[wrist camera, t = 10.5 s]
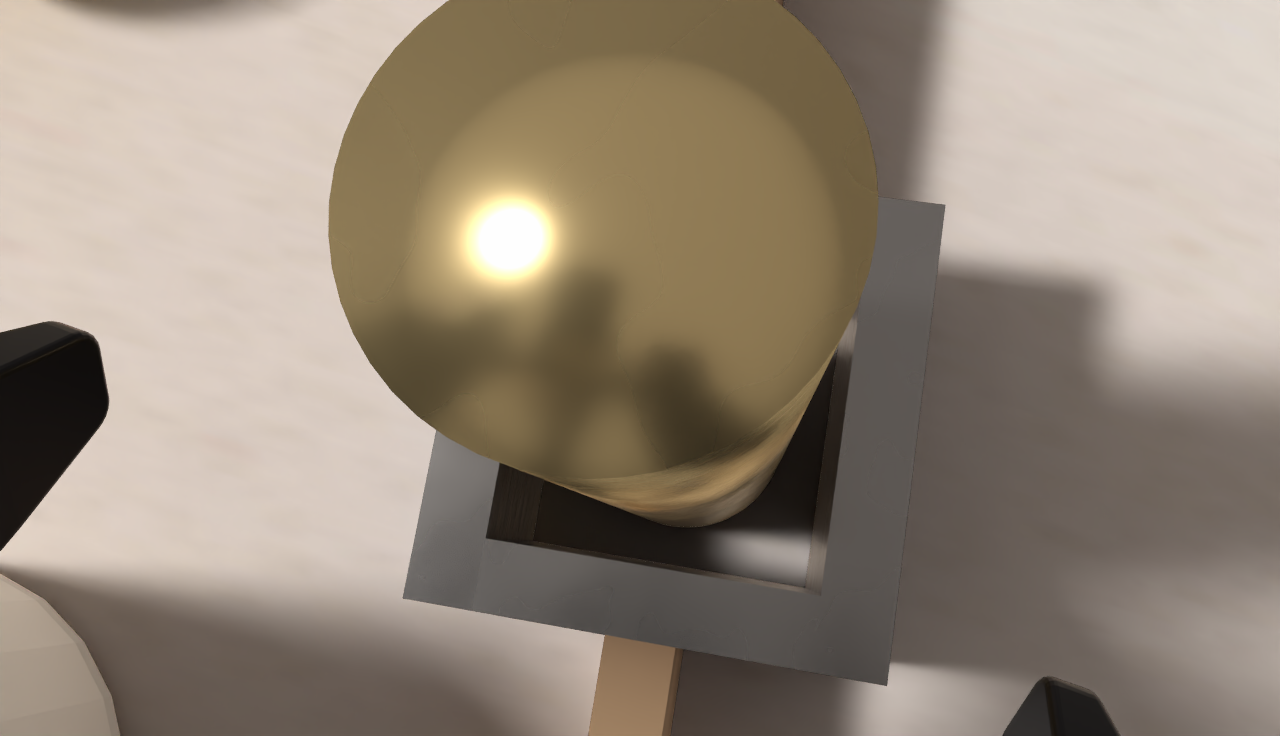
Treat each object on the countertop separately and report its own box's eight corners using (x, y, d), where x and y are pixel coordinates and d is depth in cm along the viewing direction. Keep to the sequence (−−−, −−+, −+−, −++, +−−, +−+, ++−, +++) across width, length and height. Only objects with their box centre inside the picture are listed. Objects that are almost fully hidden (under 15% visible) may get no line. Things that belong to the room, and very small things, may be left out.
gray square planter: (857, 659, 20) (886, 686, 16) (466, 589, 21) (403, 598, 17) (907, 269, 21) (945, 204, 17) (536, 220, 22) (492, 149, 18)
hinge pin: (795, 517, 21) (916, 446, 7) (600, 537, 21) (339, 506, 7) (771, 325, 21) (838, -86, 8) (583, 347, 22) (318, -11, 8)
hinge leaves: (592, 1239, 19) (559, 1395, 15) (528, 1223, 19) (481, 1373, 15) (815, -208, 23) (828, -339, 20) (763, -212, 24) (767, -342, 20)
